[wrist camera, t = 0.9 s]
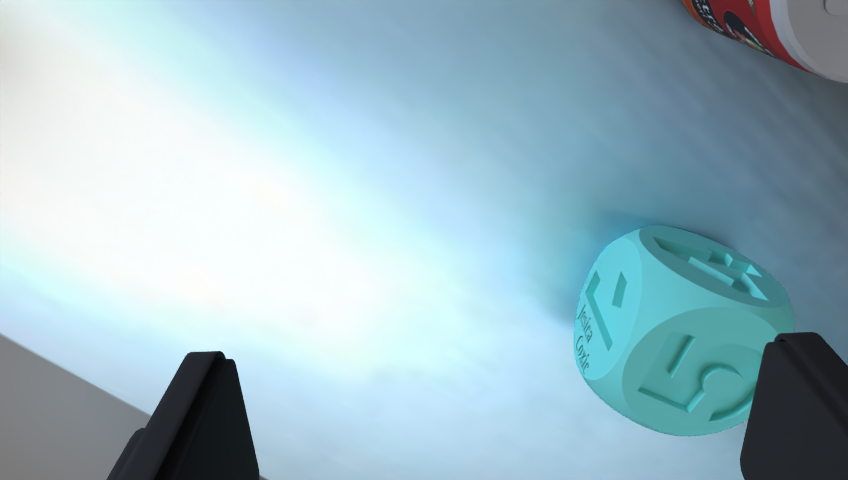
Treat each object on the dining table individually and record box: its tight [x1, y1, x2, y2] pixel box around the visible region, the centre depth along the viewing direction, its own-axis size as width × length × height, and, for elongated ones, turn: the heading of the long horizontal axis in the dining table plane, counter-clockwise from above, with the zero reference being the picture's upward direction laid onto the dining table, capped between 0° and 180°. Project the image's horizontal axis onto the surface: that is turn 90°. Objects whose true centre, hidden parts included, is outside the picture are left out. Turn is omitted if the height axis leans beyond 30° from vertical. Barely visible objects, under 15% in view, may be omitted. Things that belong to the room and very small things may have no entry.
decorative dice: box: [574, 225, 795, 436], centre depth 35 cm, size 8×8×8 cm
